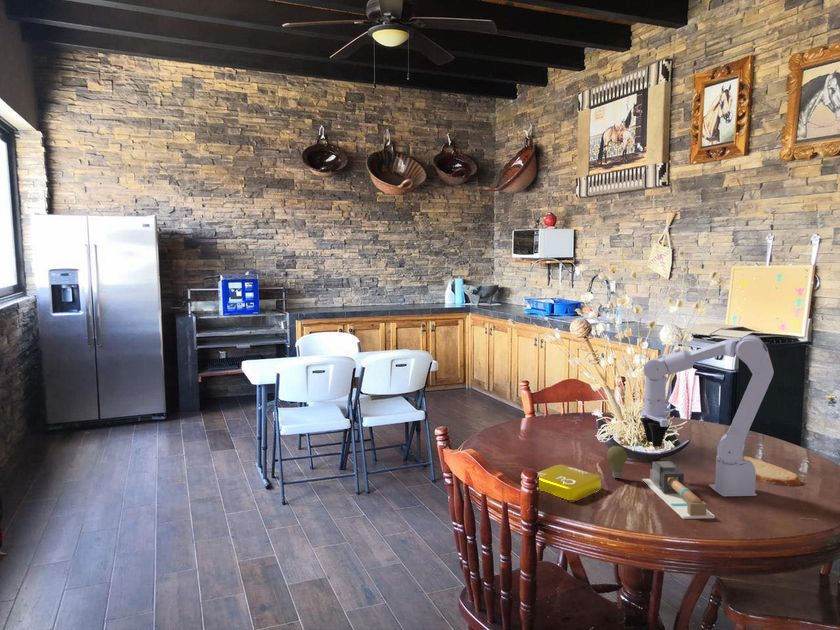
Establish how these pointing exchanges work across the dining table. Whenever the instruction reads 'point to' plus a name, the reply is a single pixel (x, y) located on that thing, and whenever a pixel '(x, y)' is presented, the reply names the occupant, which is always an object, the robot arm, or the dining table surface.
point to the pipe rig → (681, 500)
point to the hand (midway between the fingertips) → (653, 444)
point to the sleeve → (662, 467)
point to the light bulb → (616, 460)
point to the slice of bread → (773, 473)
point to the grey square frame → (668, 475)
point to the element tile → (568, 482)
